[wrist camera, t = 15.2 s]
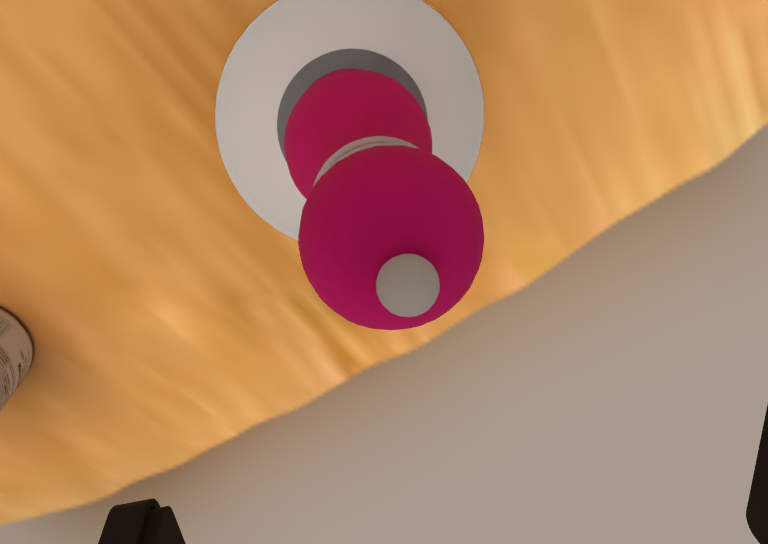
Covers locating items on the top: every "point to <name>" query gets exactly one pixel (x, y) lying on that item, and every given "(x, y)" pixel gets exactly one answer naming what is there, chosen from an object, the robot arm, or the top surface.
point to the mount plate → (327, 54)
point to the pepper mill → (379, 204)
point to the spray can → (12, 355)
